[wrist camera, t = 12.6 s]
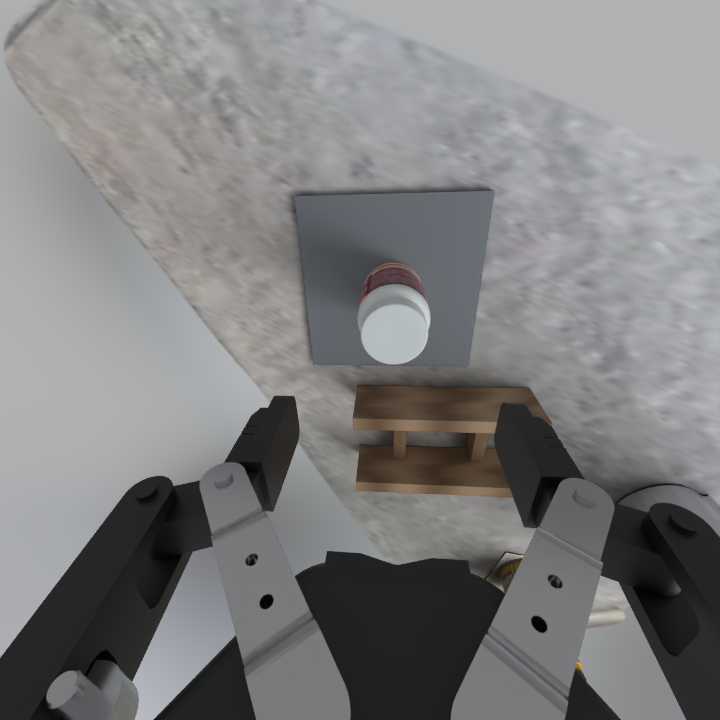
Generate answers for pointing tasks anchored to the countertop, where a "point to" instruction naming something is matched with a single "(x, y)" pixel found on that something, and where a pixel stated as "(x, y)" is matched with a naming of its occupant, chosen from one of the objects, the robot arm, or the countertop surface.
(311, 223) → the mat
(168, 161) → the countertop surface
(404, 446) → the wooden rack
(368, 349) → the pill bottle
